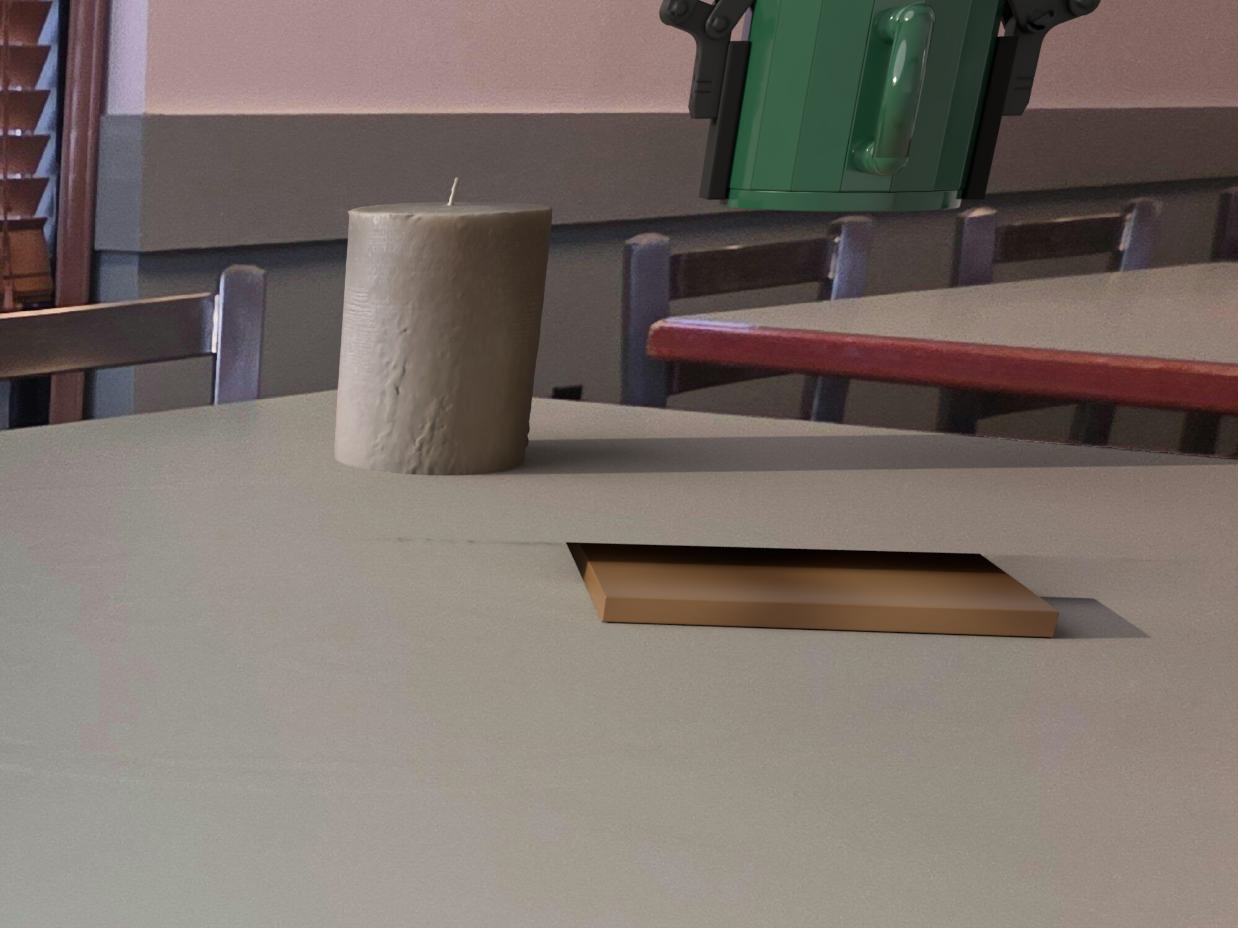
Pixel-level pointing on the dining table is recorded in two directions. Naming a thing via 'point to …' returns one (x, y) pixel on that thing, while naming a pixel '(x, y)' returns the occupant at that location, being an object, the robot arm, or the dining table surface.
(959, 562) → the trivet
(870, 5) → the mug
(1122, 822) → the dining table surface
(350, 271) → the pillar candle
